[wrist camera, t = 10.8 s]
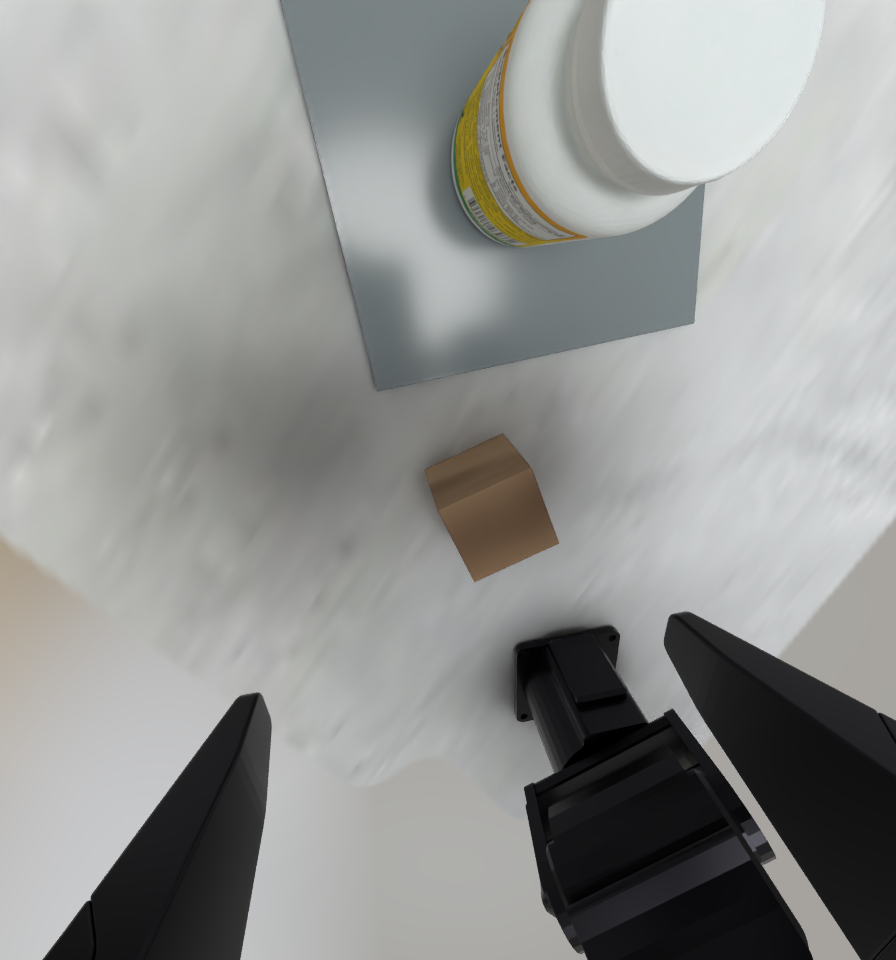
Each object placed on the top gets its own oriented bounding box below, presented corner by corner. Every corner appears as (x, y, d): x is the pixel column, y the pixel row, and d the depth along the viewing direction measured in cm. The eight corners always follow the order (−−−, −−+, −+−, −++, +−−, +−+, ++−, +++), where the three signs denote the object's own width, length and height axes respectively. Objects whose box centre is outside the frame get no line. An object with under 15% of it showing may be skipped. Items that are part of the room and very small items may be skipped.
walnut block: (528, 499, 23) (559, 543, 19) (456, 532, 23) (474, 582, 19) (502, 433, 21) (531, 467, 17) (424, 469, 21) (437, 510, 17)
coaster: (685, 321, 20) (694, 323, 20) (376, 388, 19) (377, 391, 18) (717, -153, 14) (732, -170, 13) (257, -96, 13) (252, -113, 12)
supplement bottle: (452, 251, 17) (548, 234, 8) (444, 63, 14) (567, -241, 6) (589, 244, 17) (810, 221, 9) (603, 64, 15) (921, -205, 6)
